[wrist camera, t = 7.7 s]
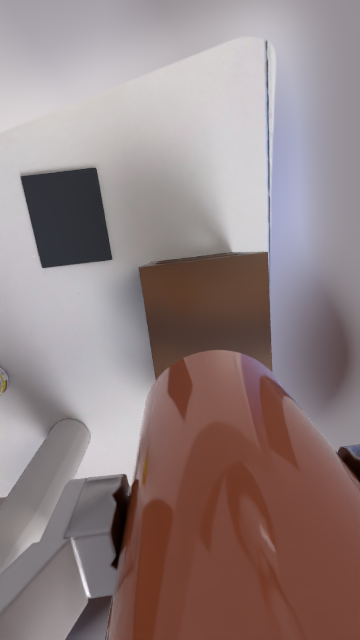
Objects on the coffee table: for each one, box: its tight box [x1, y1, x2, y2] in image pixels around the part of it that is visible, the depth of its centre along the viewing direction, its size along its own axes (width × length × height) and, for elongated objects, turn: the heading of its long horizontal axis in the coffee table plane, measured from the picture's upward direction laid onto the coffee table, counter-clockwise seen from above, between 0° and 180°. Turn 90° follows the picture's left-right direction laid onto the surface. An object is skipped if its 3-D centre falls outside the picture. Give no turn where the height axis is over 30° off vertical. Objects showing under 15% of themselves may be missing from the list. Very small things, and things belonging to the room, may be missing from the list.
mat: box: [21, 168, 112, 268], centre depth 38 cm, size 12×10×1 cm
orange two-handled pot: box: [105, 350, 360, 640], centre depth 6 cm, size 8×6×10 cm
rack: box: [139, 252, 272, 380], centre depth 34 cm, size 14×12×15 cm
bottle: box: [0, 419, 90, 574], centre depth 33 cm, size 7×7×28 cm
